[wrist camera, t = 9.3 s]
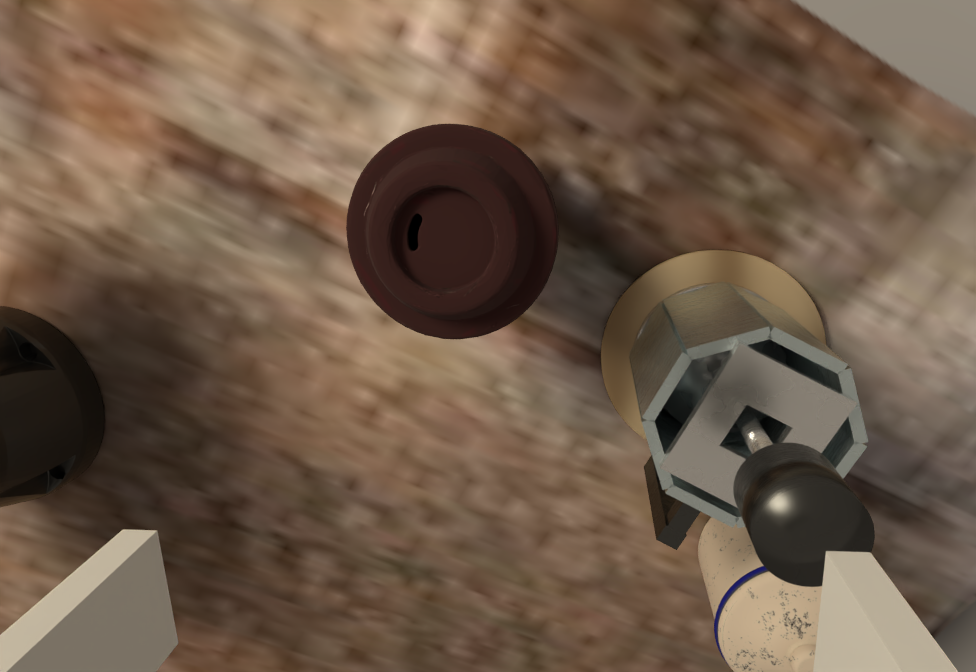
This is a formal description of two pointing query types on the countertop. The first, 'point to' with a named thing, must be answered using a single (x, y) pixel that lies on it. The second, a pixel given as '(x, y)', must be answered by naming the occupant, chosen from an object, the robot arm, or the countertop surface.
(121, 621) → the robot arm
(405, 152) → the coffee cup
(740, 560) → the teacup with lid
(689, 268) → the cork trivet
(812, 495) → the plunger
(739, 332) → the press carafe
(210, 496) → the countertop surface
